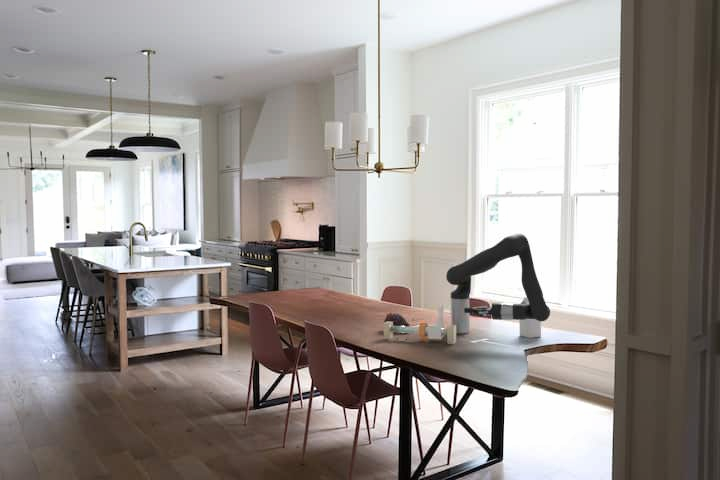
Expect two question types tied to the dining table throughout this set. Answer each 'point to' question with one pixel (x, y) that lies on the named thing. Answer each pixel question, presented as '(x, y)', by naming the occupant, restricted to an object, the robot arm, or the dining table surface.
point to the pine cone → (396, 320)
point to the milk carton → (530, 325)
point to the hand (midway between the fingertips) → (464, 310)
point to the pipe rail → (404, 329)
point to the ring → (423, 330)
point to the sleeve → (436, 327)
